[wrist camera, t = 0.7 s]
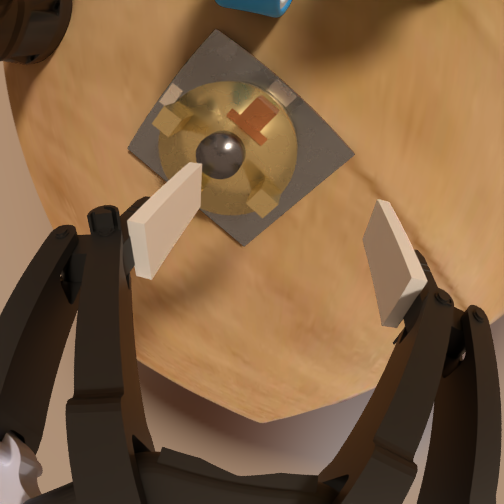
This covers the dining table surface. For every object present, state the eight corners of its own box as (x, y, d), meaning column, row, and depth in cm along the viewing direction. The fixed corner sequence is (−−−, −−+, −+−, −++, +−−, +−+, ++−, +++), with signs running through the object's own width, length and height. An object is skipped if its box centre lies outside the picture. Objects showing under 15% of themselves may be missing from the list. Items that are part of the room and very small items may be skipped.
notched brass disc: (148, 151, 34) (121, 168, 29) (223, 54, 25) (203, 50, 20) (236, 226, 38) (225, 254, 33) (326, 147, 30) (331, 164, 25)
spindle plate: (130, 146, 35) (126, 148, 34) (218, 29, 24) (215, 28, 23) (245, 242, 41) (243, 247, 40) (353, 152, 31) (355, 155, 30)
